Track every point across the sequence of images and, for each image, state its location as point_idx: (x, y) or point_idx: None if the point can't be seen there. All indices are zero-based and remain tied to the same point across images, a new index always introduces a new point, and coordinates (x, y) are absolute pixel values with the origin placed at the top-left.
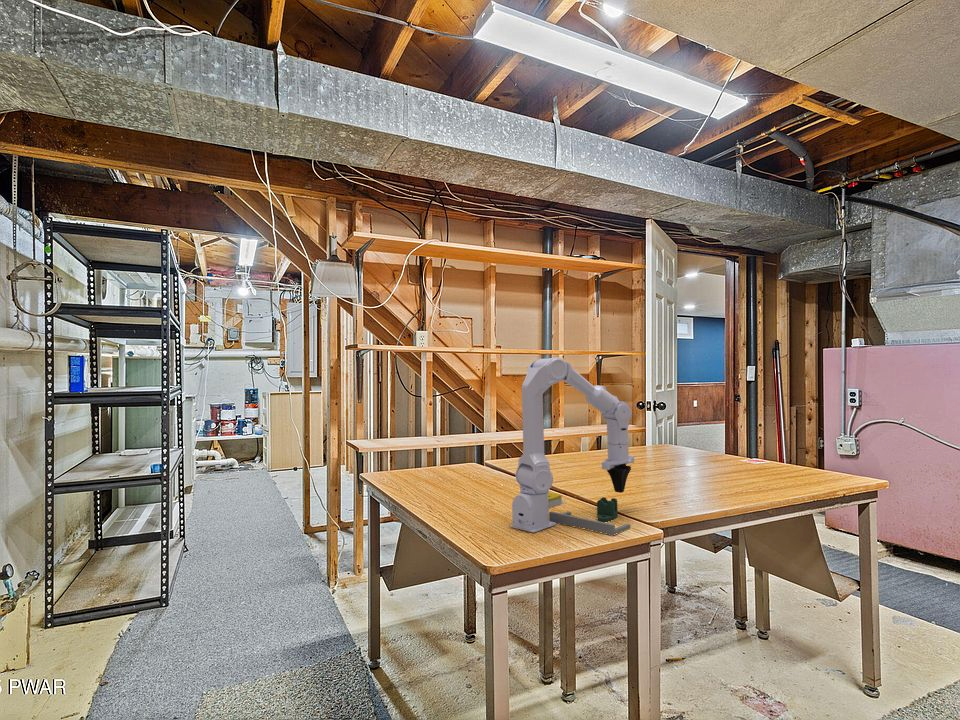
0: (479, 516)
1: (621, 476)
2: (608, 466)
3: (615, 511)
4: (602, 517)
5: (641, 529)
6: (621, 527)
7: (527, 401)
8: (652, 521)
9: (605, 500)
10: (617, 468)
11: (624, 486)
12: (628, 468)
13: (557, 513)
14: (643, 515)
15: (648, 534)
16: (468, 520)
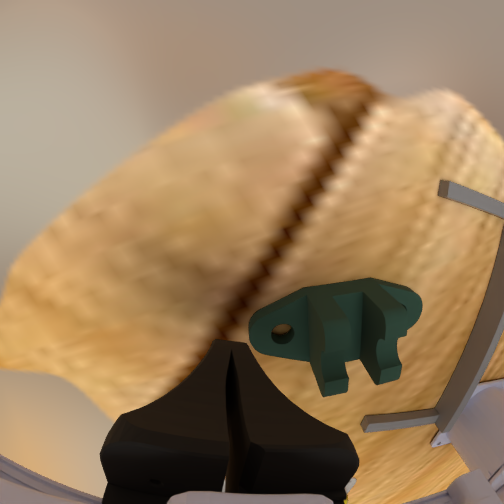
0: (418, 497)
1: (305, 413)
2: (489, 487)
3: (340, 297)
4: (409, 312)
5: (434, 137)
6: (488, 200)
7: None
8: (305, 118)
9: (345, 369)
10: (338, 495)
11: (216, 354)
12: (215, 443)
13: (461, 410)
14: (219, 188)
15: (466, 107)
16: (444, 487)
